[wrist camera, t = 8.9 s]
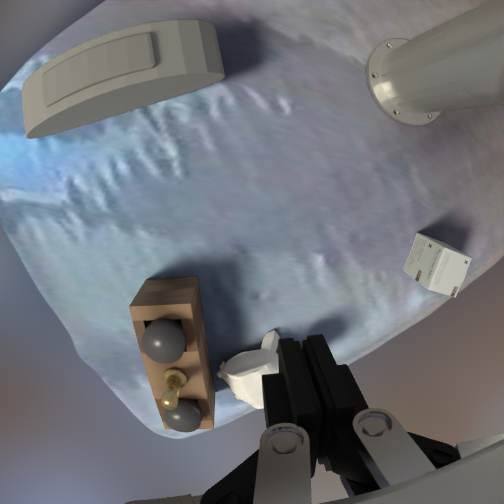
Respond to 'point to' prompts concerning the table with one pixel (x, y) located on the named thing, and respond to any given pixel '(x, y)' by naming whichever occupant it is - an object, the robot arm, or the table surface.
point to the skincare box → (437, 265)
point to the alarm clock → (121, 74)
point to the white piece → (251, 370)
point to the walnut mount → (196, 350)
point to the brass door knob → (172, 387)
